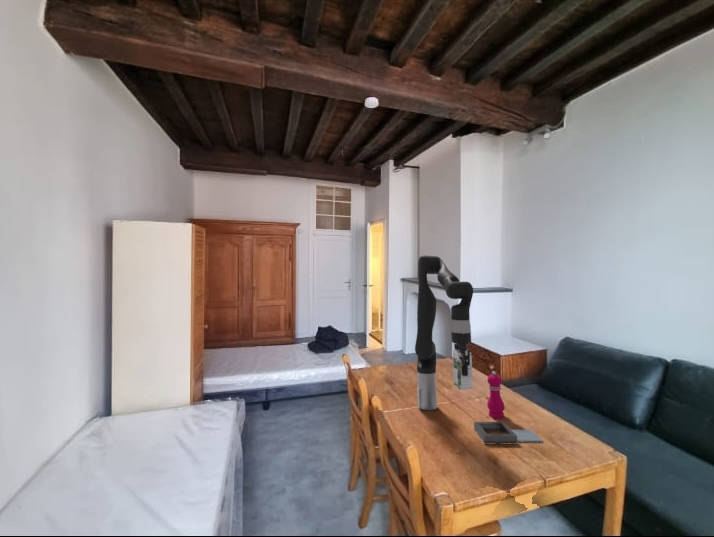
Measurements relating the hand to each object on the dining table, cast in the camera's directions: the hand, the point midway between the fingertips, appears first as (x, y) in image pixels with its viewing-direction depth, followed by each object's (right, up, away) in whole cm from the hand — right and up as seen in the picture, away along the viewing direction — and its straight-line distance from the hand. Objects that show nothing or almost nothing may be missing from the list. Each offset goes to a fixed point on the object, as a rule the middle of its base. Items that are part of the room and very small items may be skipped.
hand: (462, 372), depth 122 cm
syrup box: (0, -6, 0) cm, 6 cm away
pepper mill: (+21, -25, +16) cm, 37 cm away
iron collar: (+12, -24, -2) cm, 27 cm away
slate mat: (+23, -24, -3) cm, 34 cm away
